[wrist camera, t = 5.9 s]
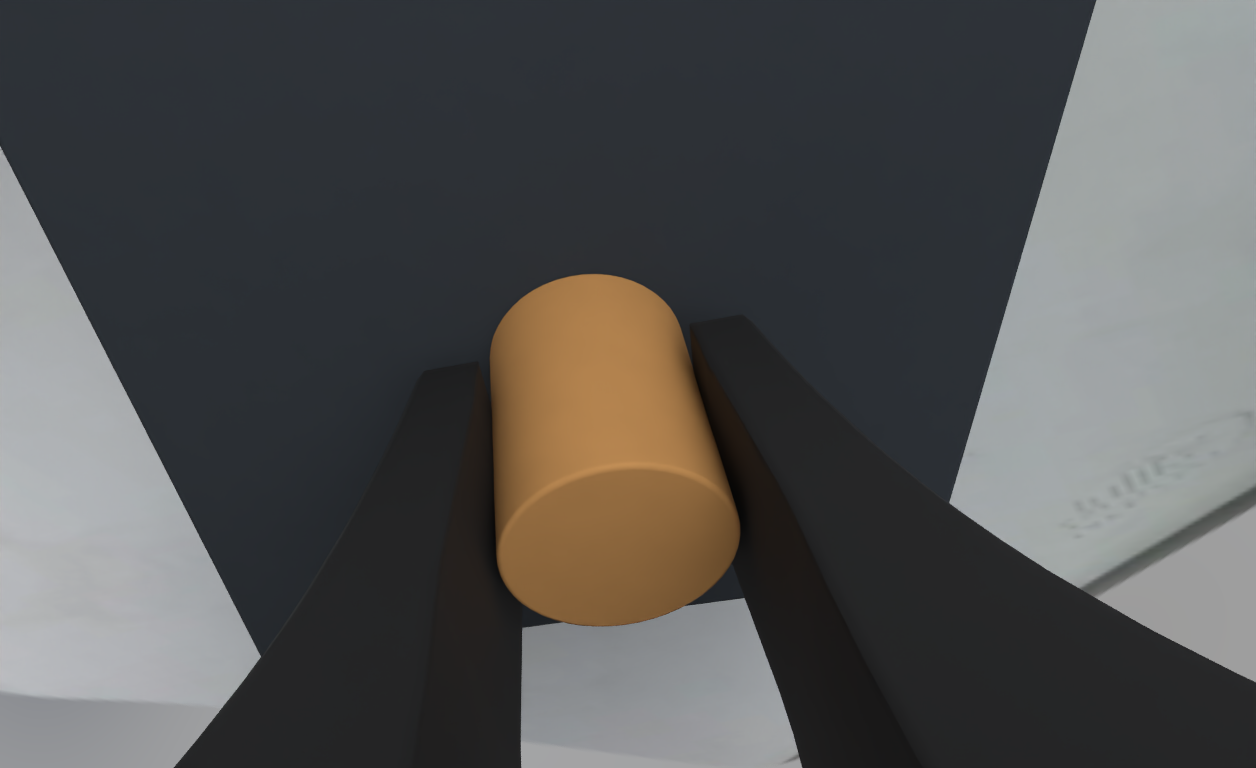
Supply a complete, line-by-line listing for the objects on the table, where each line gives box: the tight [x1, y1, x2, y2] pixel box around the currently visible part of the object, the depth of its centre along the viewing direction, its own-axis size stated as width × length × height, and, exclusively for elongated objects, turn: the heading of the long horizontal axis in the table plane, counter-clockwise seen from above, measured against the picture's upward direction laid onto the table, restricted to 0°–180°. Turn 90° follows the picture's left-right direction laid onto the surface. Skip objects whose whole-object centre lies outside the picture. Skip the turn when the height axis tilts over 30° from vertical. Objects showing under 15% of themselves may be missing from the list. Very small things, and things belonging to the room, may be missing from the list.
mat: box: [0, 0, 1096, 656], centre depth 10 cm, size 11×11×4 cm
